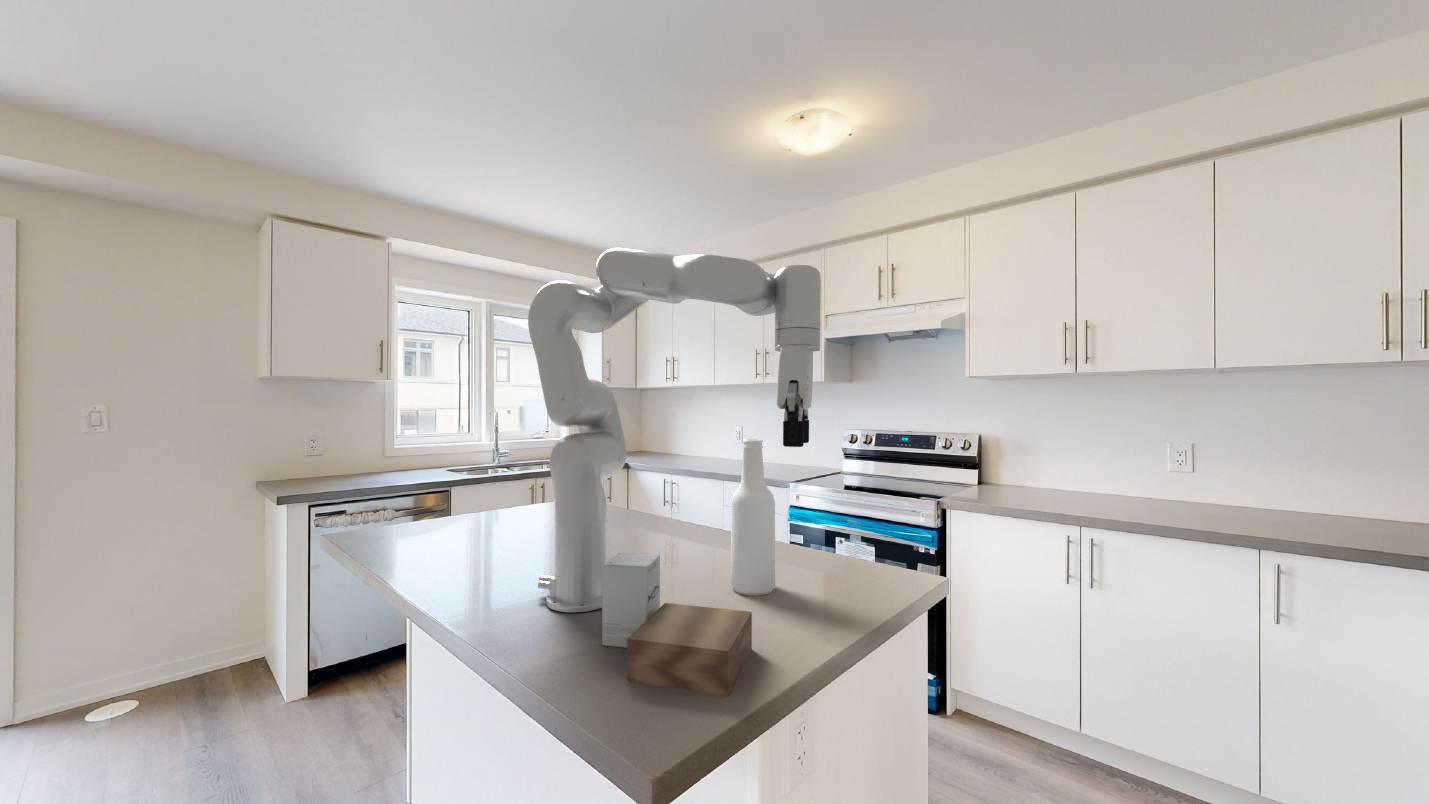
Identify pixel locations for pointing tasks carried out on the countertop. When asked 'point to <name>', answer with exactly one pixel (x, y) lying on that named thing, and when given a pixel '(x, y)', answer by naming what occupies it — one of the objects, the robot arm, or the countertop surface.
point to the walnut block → (690, 648)
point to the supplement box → (628, 595)
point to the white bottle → (753, 527)
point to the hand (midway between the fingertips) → (796, 444)
